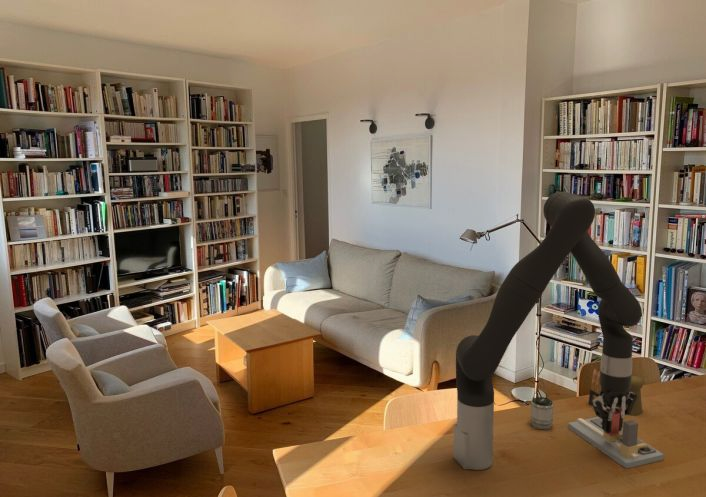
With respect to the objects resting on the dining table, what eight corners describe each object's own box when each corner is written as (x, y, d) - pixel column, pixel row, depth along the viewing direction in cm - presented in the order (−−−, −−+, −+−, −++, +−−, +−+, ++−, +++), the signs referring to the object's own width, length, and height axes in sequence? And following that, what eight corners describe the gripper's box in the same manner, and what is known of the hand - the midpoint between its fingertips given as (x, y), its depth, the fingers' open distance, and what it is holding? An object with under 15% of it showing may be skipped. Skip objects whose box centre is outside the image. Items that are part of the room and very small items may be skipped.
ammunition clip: (618, 418, 162) (620, 380, 160) (613, 419, 161) (615, 381, 159) (593, 402, 172) (595, 367, 170) (588, 403, 171) (590, 368, 169)
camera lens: (526, 425, 159) (527, 400, 157) (535, 417, 163) (536, 393, 162) (547, 432, 155) (548, 406, 153) (556, 424, 159) (557, 399, 158)
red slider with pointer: (610, 443, 144) (611, 415, 142) (602, 438, 146) (604, 411, 145) (631, 438, 146) (633, 411, 144) (624, 434, 148) (626, 406, 147)
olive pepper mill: (643, 409, 167) (645, 375, 165) (641, 417, 162) (644, 382, 160) (621, 404, 170) (623, 371, 168) (619, 412, 165) (621, 378, 163)
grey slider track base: (626, 468, 136) (628, 430, 134) (567, 427, 157) (569, 394, 155) (663, 459, 140) (666, 422, 138) (601, 420, 160) (603, 387, 159)
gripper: (604, 379, 136) (600, 442, 139) (648, 371, 140) (644, 433, 143) (583, 368, 143) (580, 428, 146) (626, 361, 147) (622, 420, 150)
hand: (612, 430), depth 145 cm, fingers closed on red slider with pointer, 3 cm apart
